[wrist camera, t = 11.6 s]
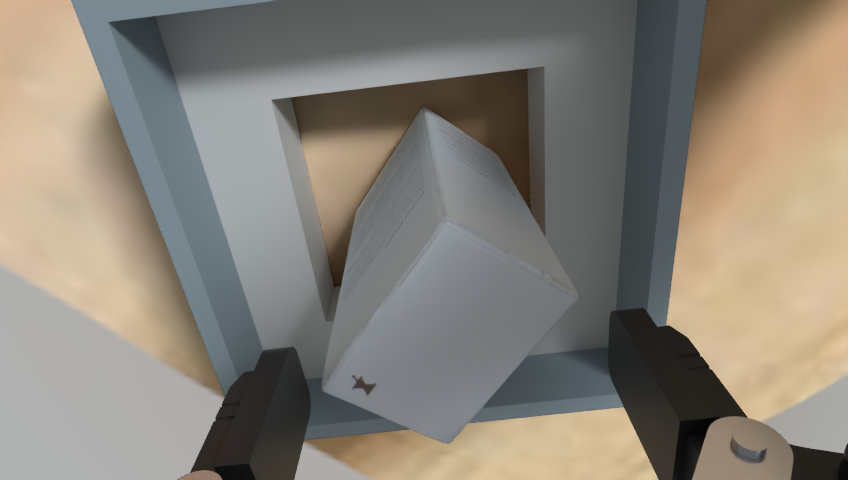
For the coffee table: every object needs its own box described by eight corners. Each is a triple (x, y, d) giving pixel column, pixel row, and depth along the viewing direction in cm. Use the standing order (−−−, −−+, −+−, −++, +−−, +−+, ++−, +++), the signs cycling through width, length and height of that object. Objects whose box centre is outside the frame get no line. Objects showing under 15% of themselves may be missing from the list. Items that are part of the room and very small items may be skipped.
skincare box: (430, 252, 25) (446, 453, 14) (354, 210, 24) (311, 394, 13) (503, 151, 23) (588, 300, 12) (424, 100, 22) (439, 213, 11)
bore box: (631, -70, 19) (718, -89, 14) (607, 321, 27) (656, 403, 22) (161, -9, 20) (68, -6, 14) (275, 356, 28) (244, 446, 22)
